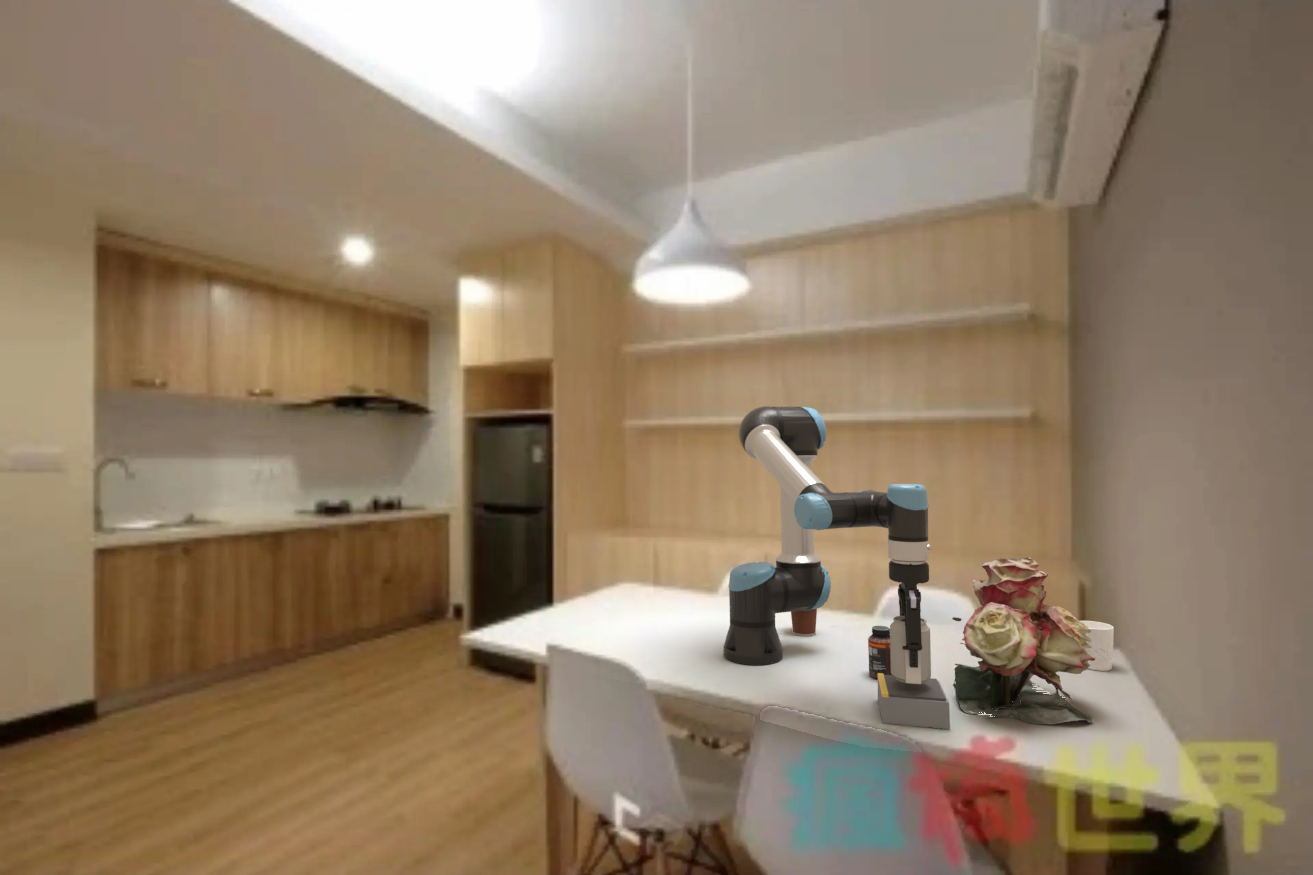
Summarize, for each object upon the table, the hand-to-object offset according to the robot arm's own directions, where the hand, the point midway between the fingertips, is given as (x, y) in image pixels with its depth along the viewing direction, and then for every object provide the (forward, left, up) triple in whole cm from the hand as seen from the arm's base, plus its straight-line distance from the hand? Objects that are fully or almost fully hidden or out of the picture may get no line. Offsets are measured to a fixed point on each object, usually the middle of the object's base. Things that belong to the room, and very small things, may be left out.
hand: (910, 675), depth 128 cm
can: (0, 0, -1) cm, 1 cm away
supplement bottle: (-4, +21, -8) cm, 23 cm away
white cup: (+46, +40, -8) cm, 61 cm away
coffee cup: (-23, +53, -8) cm, 58 cm away
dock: (0, 0, -8) cm, 8 cm away
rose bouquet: (+23, +11, -8) cm, 27 cm away
